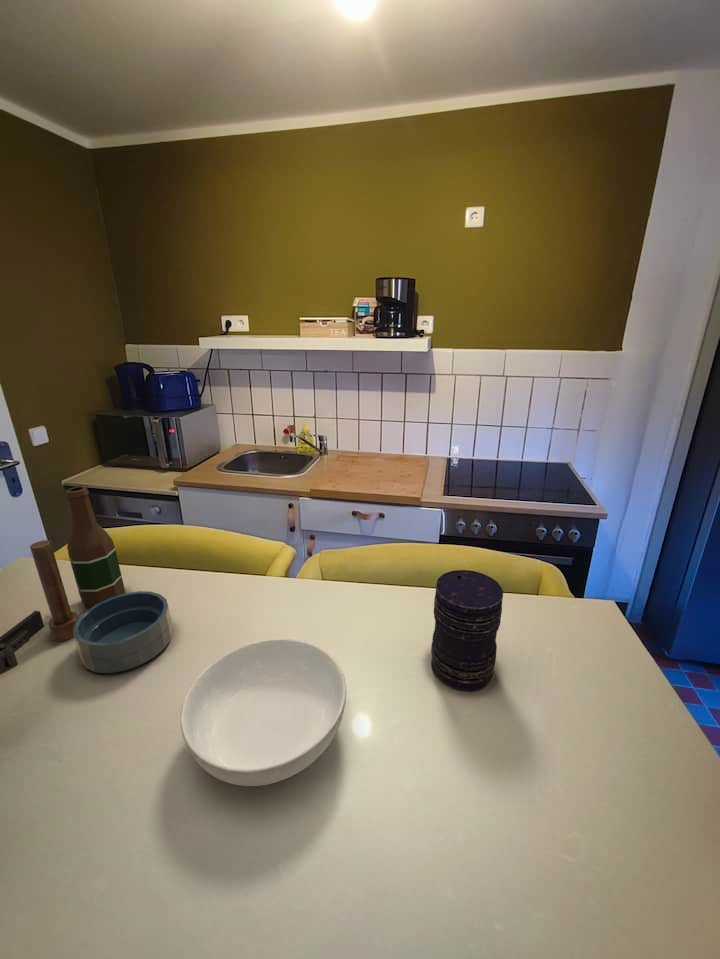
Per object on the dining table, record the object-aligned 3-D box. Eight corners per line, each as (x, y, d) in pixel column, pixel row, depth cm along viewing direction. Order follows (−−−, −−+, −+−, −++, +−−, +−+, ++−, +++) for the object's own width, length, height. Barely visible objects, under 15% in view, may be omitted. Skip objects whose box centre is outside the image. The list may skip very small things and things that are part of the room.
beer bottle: (124, 606, 84) (96, 492, 75) (78, 616, 81) (44, 499, 73) (128, 585, 91) (103, 479, 82) (86, 593, 88) (56, 484, 80)
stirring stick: (46, 637, 76) (17, 547, 69) (70, 622, 79) (45, 536, 73) (63, 644, 74) (35, 552, 68) (87, 628, 78) (62, 540, 72)
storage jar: (506, 684, 65) (518, 601, 60) (448, 699, 62) (455, 614, 57) (472, 640, 74) (480, 565, 69) (420, 652, 71) (424, 575, 66)
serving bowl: (368, 692, 64) (367, 655, 61) (304, 843, 45) (300, 799, 43) (248, 658, 70) (244, 623, 68) (150, 778, 52) (139, 736, 50)
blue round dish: (62, 661, 70) (52, 631, 68) (133, 611, 82) (127, 584, 80) (123, 686, 65) (115, 655, 63) (190, 629, 77) (185, 601, 75)
